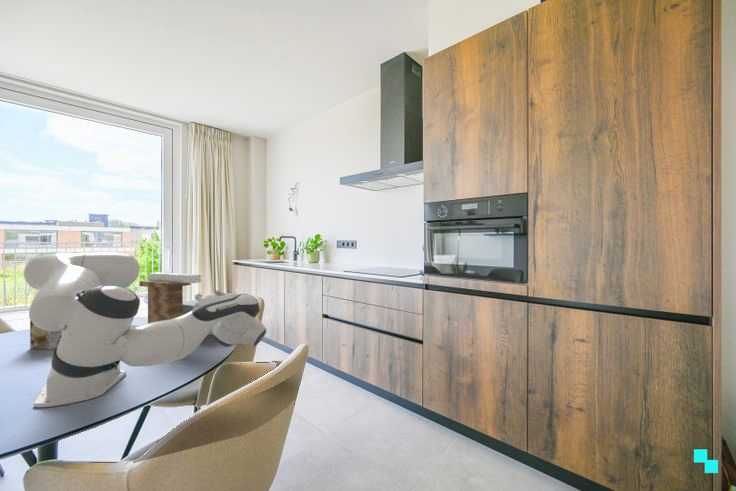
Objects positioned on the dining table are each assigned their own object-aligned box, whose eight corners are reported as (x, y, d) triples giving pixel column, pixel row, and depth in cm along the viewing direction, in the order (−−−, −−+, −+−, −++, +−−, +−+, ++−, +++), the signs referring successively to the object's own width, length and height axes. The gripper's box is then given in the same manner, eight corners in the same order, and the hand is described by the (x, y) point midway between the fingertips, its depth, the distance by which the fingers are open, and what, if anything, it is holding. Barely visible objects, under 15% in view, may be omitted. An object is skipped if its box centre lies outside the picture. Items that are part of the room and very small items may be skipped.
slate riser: (212, 333, 141) (212, 301, 141) (193, 340, 131) (193, 305, 131) (195, 331, 144) (195, 299, 144) (175, 338, 135) (175, 303, 134)
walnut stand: (192, 341, 130) (192, 280, 130) (170, 349, 121) (170, 283, 120) (161, 336, 136) (161, 278, 136) (138, 344, 127) (137, 281, 126)
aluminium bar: (200, 282, 124) (200, 274, 124) (192, 283, 121) (192, 275, 121) (157, 279, 132) (157, 272, 132) (148, 280, 128) (148, 273, 128)
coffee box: (28, 348, 120) (28, 307, 120) (47, 343, 127) (47, 304, 126) (49, 349, 119) (49, 308, 119) (67, 344, 126) (67, 305, 125)
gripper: (205, 327, 108) (180, 305, 112) (246, 314, 128) (223, 295, 131) (212, 312, 107) (186, 291, 111) (252, 301, 127) (229, 283, 130)
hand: (206, 293), depth 121 cm, fingers open, 8 cm apart
